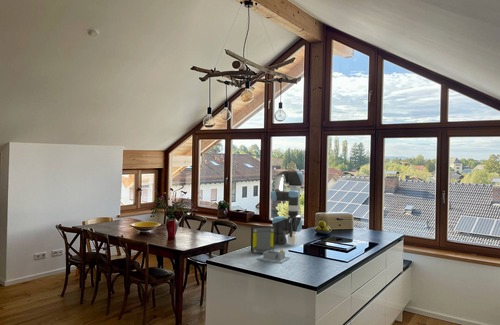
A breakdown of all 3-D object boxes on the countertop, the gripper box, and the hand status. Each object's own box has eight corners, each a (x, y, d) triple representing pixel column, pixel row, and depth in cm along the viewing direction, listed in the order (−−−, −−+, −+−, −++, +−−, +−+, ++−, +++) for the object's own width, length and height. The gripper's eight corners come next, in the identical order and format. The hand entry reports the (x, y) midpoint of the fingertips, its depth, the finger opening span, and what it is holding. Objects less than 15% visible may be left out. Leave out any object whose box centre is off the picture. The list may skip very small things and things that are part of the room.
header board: (264, 255, 282) (264, 244, 282) (288, 259, 273) (288, 248, 273) (257, 259, 272) (257, 247, 272) (281, 263, 262) (282, 251, 262)
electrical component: (252, 253, 288) (253, 228, 288) (250, 250, 298) (250, 226, 298) (274, 253, 291) (274, 228, 291) (271, 250, 301) (271, 225, 301)
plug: (289, 242, 288) (290, 233, 288) (297, 243, 285) (297, 234, 285) (287, 243, 284) (287, 234, 284) (294, 244, 281) (295, 235, 281)
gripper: (292, 208, 293) (292, 237, 294) (284, 211, 278) (283, 242, 279) (301, 209, 290) (301, 238, 290) (293, 212, 274) (292, 243, 275)
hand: (292, 240), depth 284 cm, fingers closed on plug, 4 cm apart
